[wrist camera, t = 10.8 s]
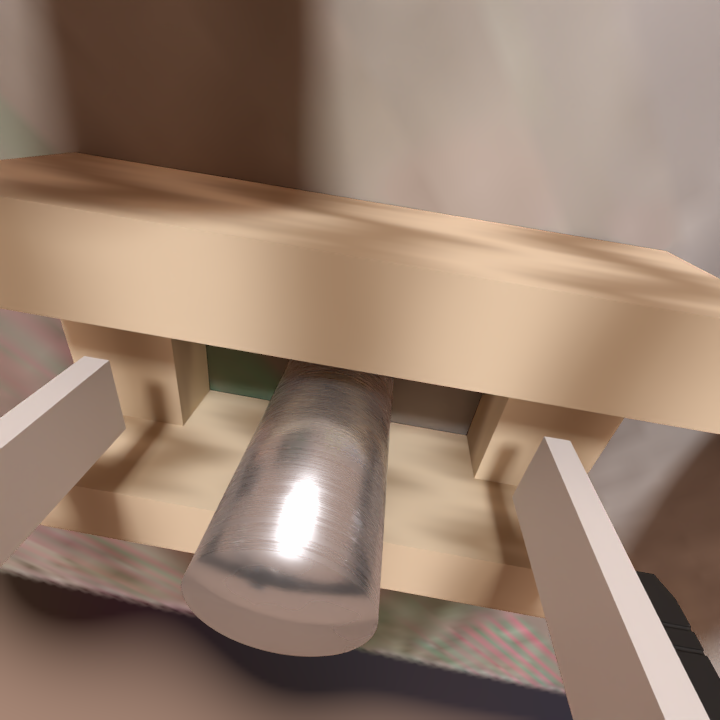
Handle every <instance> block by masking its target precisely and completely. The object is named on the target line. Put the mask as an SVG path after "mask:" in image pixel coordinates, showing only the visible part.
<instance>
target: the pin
mask: <svg viewBox="0 0 720 720" xmlns="http://www.w3.org/2000/svg"><path fill="white" fill-rule="evenodd" d="M392 392H393V377H390V376H384V375H378V374H373V373H367V372H361V371H355V370H350V369H344V368H338V367H333V366H327V365H321V364H316V363H310V362H304V361H298V360H293V359H290V361H289V363H288V365H287V367H286V370H285V372H284V374H283V376H282V378H281V380H280V382H279V384H278V386H277V388H276V390H275V392H274V394H273V396H272V398H271V400H270V402H269V404H268V406H267V408H266V410H265V412H264V414H263V416H262V418H261V420H260V422H259V424H258V426H257V428H256V430H255V432H254V434H253V436H252V438H251V440H250V443H249V445H248V447H247V449H246V451H245V453H244V455H243V457H242V459H241V461H240V463H239V465H238V467H237V469H236V471H235V473H234V475H233V477H232V479H231V481H230V483H229V485H228V487H227V489H226V491H225V493H224V495H223V497H222V499H221V501H220V503H219V505H218V507H217V509H216V511H215V513H214V516H213V518H212V520H211V522H210V524H209V526H208V528H207V530H206V532H205V534H204V536H203V538H202V540H201V542H200V544H199V546H198V548H197V550H196V552H195V554H194V556H193V558H192V560H191V562H190V564H189V566H188V568H187V570H186V572H185V574H184V576H183V579H182V584H181V588H182V594H183V597H184V600H185V601H186V603H187V605H188V606H189V608H190V609H191V610H192V612H193V613H194V614H195V615H196V616H197V617H198V618H199V619H201V620H202V621H203V622H204V623H205V624H207V625H208V626H210V627H211V628H213V629H214V630H216V631H217V632H219V633H221V634H223V635H225V636H227V637H229V638H231V639H233V640H235V641H238V642H240V643H242V644H245V645H248V646H251V647H254V648H257V649H261V650H265V651H269V652H273V653H278V654H285V655H292V656H307V657H315V656H329V655H336V654H341V653H344V652H348V651H351V650H353V649H356V648H358V647H360V646H362V645H363V644H365V643H366V642H367V641H368V640H370V638H371V637H372V636H373V635H374V633H375V631H376V629H377V625H378V615H379V599H380V583H381V567H382V551H383V535H384V519H385V503H386V487H387V472H388V456H389V440H390V424H391V408H392Z"/></svg>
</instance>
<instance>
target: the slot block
mask: <svg viewBox="0 0 720 720" xmlns="http://www.w3.org/2000/svg"><path fill="white" fill-rule="evenodd" d="M0 308H1V309H7V310H13V311H18V312H24V313H30V314H36V315H41V316H47V317H53V318H58V319H61V322H62V326H63V329H64V332H65V335H66V339H67V342H68V345H69V348H70V352H71V355H72V358H73V362H74V363H75V362H77V361H78V360H79V359H81V358H82V357H84V356H87V357H93V358H98V359H104V360H109V362H110V366H111V370H112V374H113V378H114V382H115V386H116V390H117V394H118V398H119V402H120V406H121V410H122V414H123V418H124V422H125V426H126V429H125V430H124V431H123V432H122V434H121V435H120V436H119V437H118V438H117V439H116V440H115V441H114V442H113V444H112V445H111V446H110V447H109V448H108V449H107V450H106V451H105V452H104V453H103V455H102V456H101V457H100V458H99V459H98V460H97V461H96V462H95V463H94V465H93V466H92V467H91V468H90V469H89V470H88V471H87V472H86V473H85V474H84V476H83V477H82V478H81V479H80V480H79V481H78V482H77V483H76V484H75V486H74V487H73V488H72V489H71V490H70V491H69V492H68V493H67V494H66V495H65V497H64V498H63V499H62V500H61V501H60V502H59V503H58V504H57V505H56V507H55V508H54V509H53V510H52V511H51V512H50V513H49V514H48V515H47V516H46V518H45V519H44V520H43V521H42V522H41V523H40V525H43V526H49V527H54V528H59V529H65V530H70V531H76V532H81V533H86V534H92V535H97V536H103V537H108V538H113V539H119V540H124V541H130V542H135V543H140V544H146V545H151V546H157V547H162V548H167V549H173V550H178V551H184V552H189V553H194V554H195V552H196V550H197V548H198V546H199V544H200V542H201V540H202V538H203V536H204V534H205V532H206V530H207V528H208V526H209V524H210V522H211V520H212V518H213V516H214V513H215V511H216V509H217V507H218V505H219V503H220V501H221V499H222V497H223V495H224V493H225V491H226V489H227V487H228V485H229V483H230V481H231V479H232V477H233V475H234V473H235V471H236V469H237V467H238V465H239V463H240V461H241V459H242V457H243V455H244V453H245V451H246V449H247V447H248V445H249V443H250V440H251V438H252V436H253V434H254V432H255V430H256V428H257V426H258V424H259V422H260V420H261V418H262V416H263V414H264V412H265V410H266V408H267V406H268V404H269V402H270V401H269V400H263V399H257V398H252V397H246V396H240V395H235V394H229V393H224V392H218V391H212V390H210V388H209V376H208V365H207V353H206V344H207V345H213V346H218V347H224V348H230V349H236V350H241V351H247V352H253V353H258V354H264V355H270V356H276V357H281V358H287V359H293V360H298V361H304V362H310V363H316V364H321V365H327V366H333V367H338V368H344V369H350V370H355V371H361V372H367V373H373V374H378V375H384V376H390V377H395V378H401V379H407V380H413V381H418V382H424V383H430V384H435V385H441V386H447V387H453V388H458V389H464V390H470V391H475V392H481V393H483V394H482V397H481V400H480V402H479V405H478V407H477V410H476V413H475V415H474V418H473V420H472V423H471V426H470V428H469V431H468V433H467V436H466V435H461V434H455V433H449V432H444V431H438V430H432V429H427V428H421V427H415V426H410V425H404V424H399V423H393V422H391V424H390V440H389V456H388V472H387V487H386V503H385V519H384V535H383V551H382V567H381V583H380V588H384V589H389V590H394V591H400V592H405V593H411V594H416V595H422V596H427V597H432V598H438V599H443V600H449V601H454V602H459V603H465V604H470V605H476V606H481V607H486V608H492V609H497V610H503V611H508V612H513V613H519V614H524V615H530V616H535V617H540V618H545V615H544V611H543V608H542V604H541V600H540V597H539V593H538V589H537V586H536V582H535V579H534V575H533V571H532V568H531V564H530V560H529V557H528V553H527V549H526V546H525V542H524V538H523V535H522V531H521V527H520V524H519V520H518V516H517V513H516V509H515V506H514V502H513V498H512V496H513V494H514V492H515V491H516V489H517V487H518V485H519V483H520V481H521V479H522V477H523V475H524V474H525V472H526V470H527V468H528V466H529V464H530V462H531V460H532V459H533V457H534V455H535V453H536V451H537V449H538V447H539V445H540V443H541V442H542V440H543V438H544V436H546V437H551V438H557V439H563V440H569V441H571V443H572V445H573V447H574V449H575V451H576V453H577V455H578V457H579V459H580V461H581V463H582V465H583V467H584V469H585V471H586V473H587V474H588V472H589V471H590V469H591V468H592V466H593V465H594V463H595V462H596V460H597V459H598V457H599V456H600V454H601V453H602V451H603V450H604V448H605V447H606V445H607V443H608V442H609V440H610V439H611V437H612V436H613V434H614V433H615V431H616V430H617V428H618V427H619V425H620V424H621V422H622V421H623V419H624V418H630V419H635V420H641V421H647V422H653V423H658V424H664V425H670V426H675V427H681V428H687V429H693V430H698V431H704V432H710V433H715V434H720V279H719V278H717V277H715V276H713V275H711V274H709V273H707V272H706V271H704V270H702V269H700V268H698V267H696V266H694V265H692V264H690V263H688V262H686V261H684V260H682V259H680V258H679V257H677V256H675V255H673V254H671V253H669V252H667V251H663V250H657V249H651V248H645V247H639V246H633V245H627V244H621V243H615V242H609V241H603V240H597V239H591V238H585V237H579V236H573V235H567V234H561V233H555V232H549V231H543V230H537V229H531V228H525V227H519V226H513V225H507V224H501V223H495V222H489V221H483V220H477V219H471V218H465V217H459V216H453V215H447V214H441V213H435V212H429V211H423V210H417V209H411V208H405V207H399V206H393V205H387V204H381V203H375V202H369V201H363V200H357V199H351V198H345V197H339V196H333V195H327V194H322V193H316V192H310V191H304V190H298V189H292V188H286V187H280V186H274V185H268V184H262V183H256V182H250V181H244V180H238V179H232V178H226V177H220V176H214V175H208V174H202V173H196V172H190V171H184V170H178V169H172V168H166V167H160V166H154V165H148V164H142V163H136V162H130V161H124V160H118V159H112V158H106V157H100V156H94V155H88V154H82V153H76V152H73V153H64V154H54V155H44V156H35V157H25V158H15V159H6V160H0Z"/></svg>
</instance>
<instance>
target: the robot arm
mask: <svg viewBox="0 0 720 720" xmlns="http://www.w3.org/2000/svg"><path fill="white" fill-rule="evenodd" d="M125 429H126V426H125V422H124V418H123V414H122V410H121V406H120V402H119V398H118V394H117V390H116V386H115V382H114V378H113V374H112V370H111V366H110V362H109V360H104V359H98V358H93V357H87V356H84V357H82V358H81V359H79V360H78V361H77V362H75V363H74V364H73V365H71V366H70V367H69V368H67V369H66V370H65V371H63V372H62V373H60V374H59V375H58V376H56V377H55V378H54V379H52V380H51V381H50V382H48V383H47V384H46V385H44V386H43V387H42V388H40V389H39V390H37V391H36V392H35V393H33V394H32V395H31V396H29V397H28V398H27V399H25V400H24V401H23V402H21V403H20V404H18V405H17V406H16V407H14V408H13V409H12V410H10V411H9V412H8V413H6V414H5V415H4V416H2V417H1V418H0V567H1V566H2V565H3V564H4V563H5V562H6V561H7V560H8V558H9V557H10V556H11V555H12V554H13V553H14V552H15V551H16V550H17V549H18V547H19V546H20V545H21V544H22V543H23V542H24V541H25V540H26V539H27V537H28V536H29V535H30V534H31V533H32V532H33V531H34V530H35V529H36V528H37V526H38V525H39V524H40V523H41V522H42V521H43V520H44V519H45V518H46V516H47V515H48V514H49V513H50V512H51V511H52V510H53V509H54V508H55V507H56V505H57V504H58V503H59V502H60V501H61V500H62V499H63V498H64V497H65V495H66V494H67V493H68V492H69V491H70V490H71V489H72V488H73V487H74V486H75V484H76V483H77V482H78V481H79V480H80V479H81V478H82V477H83V476H84V474H85V473H86V472H87V471H88V470H89V469H90V468H91V467H92V466H93V465H94V463H95V462H96V461H97V460H98V459H99V458H100V457H101V456H102V455H103V453H104V452H105V451H106V450H107V449H108V448H109V447H110V446H111V445H112V444H113V442H114V441H115V440H116V439H117V438H118V437H119V436H120V435H121V434H122V432H123V431H124V430H125ZM512 498H513V502H514V506H515V509H516V513H517V516H518V520H519V524H520V527H521V531H522V535H523V538H524V542H525V546H526V549H527V553H528V557H529V560H530V564H531V568H532V571H533V575H534V579H535V582H536V586H537V589H538V593H539V597H540V600H541V604H542V608H543V611H544V615H545V619H546V622H547V626H548V630H549V633H550V637H551V641H552V644H553V648H554V651H555V655H556V659H557V662H558V666H559V670H560V673H561V677H562V681H563V684H564V688H565V692H566V695H567V699H568V702H569V706H570V710H571V713H572V717H573V720H720V678H719V676H718V675H717V673H716V671H715V669H714V667H713V666H712V664H711V662H710V660H709V658H708V657H707V656H705V655H704V653H703V651H704V649H703V648H702V646H701V644H700V642H699V640H698V639H697V637H696V635H695V633H694V632H692V631H691V629H690V628H691V626H690V624H689V622H688V621H687V619H686V617H685V615H684V613H683V612H682V610H681V608H680V606H679V604H678V603H677V601H676V599H675V598H674V597H673V596H672V594H671V593H670V592H669V591H668V590H667V589H666V588H665V587H664V585H663V584H662V583H661V582H660V581H659V580H658V579H657V577H656V576H655V575H654V574H649V573H644V572H638V571H635V569H634V567H633V565H632V563H631V561H630V559H629V557H628V555H627V553H626V551H625V549H624V547H623V545H622V543H621V541H620V539H619V537H618V535H617V533H616V531H615V529H614V527H613V525H612V523H611V521H610V519H609V517H608V515H607V513H606V511H605V509H604V507H603V505H602V503H601V501H600V499H599V497H598V495H597V493H596V491H595V489H594V487H593V485H592V483H591V481H590V479H589V477H588V475H587V473H586V471H585V469H584V467H583V465H582V463H581V461H580V459H579V457H578V455H577V453H576V451H575V449H574V447H573V445H572V443H571V441H569V440H563V439H557V438H551V437H546V436H544V438H543V440H542V442H541V443H540V445H539V447H538V449H537V451H536V453H535V455H534V457H533V459H532V460H531V462H530V464H529V466H528V468H527V470H526V472H525V474H524V475H523V477H522V479H521V481H520V483H519V485H518V487H517V489H516V491H515V492H514V494H513V496H512Z"/></svg>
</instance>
